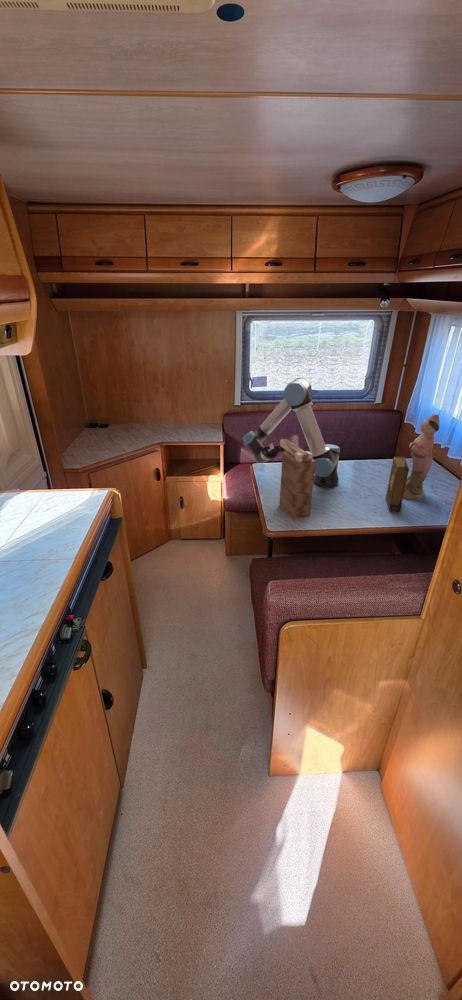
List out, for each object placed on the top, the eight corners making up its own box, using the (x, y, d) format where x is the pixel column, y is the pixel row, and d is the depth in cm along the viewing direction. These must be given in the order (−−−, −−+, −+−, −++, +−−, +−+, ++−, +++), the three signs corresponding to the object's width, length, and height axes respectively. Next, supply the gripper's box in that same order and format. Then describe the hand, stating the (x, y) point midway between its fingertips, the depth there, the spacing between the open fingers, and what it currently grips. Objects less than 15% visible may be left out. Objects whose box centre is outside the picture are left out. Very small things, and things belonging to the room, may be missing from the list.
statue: (424, 490, 247) (442, 413, 227) (423, 501, 234) (441, 421, 214) (396, 485, 253) (411, 409, 233) (393, 496, 240) (408, 417, 219)
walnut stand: (295, 503, 231) (300, 450, 217) (309, 515, 218) (315, 460, 205) (279, 506, 228) (282, 452, 214) (292, 519, 215) (297, 463, 202)
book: (385, 498, 238) (393, 455, 227) (395, 498, 237) (404, 456, 226) (388, 511, 223) (397, 467, 212) (399, 512, 222) (409, 467, 211)
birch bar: (288, 444, 225) (289, 438, 224) (311, 460, 205) (312, 453, 204) (276, 446, 223) (277, 439, 222) (298, 462, 203) (299, 455, 201)
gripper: (290, 456, 244) (307, 449, 224) (249, 461, 237) (263, 454, 216) (288, 443, 245) (305, 435, 224) (247, 448, 237) (261, 439, 217)
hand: (285, 444), depth 220 cm, fingers open, 13 cm apart
